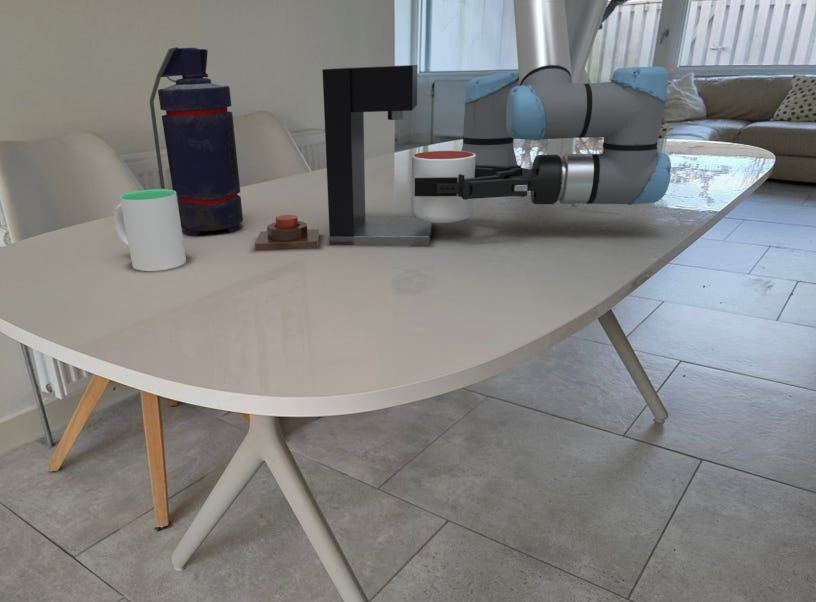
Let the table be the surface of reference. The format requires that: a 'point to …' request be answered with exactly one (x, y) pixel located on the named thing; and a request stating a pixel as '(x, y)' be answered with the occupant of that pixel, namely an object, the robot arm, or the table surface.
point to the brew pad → (287, 238)
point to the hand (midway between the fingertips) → (416, 181)
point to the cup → (438, 167)
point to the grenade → (198, 143)
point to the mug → (151, 229)
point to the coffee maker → (345, 152)
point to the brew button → (286, 221)
